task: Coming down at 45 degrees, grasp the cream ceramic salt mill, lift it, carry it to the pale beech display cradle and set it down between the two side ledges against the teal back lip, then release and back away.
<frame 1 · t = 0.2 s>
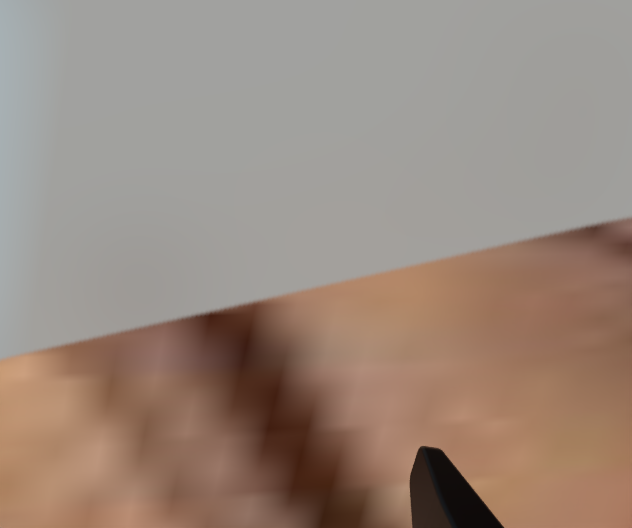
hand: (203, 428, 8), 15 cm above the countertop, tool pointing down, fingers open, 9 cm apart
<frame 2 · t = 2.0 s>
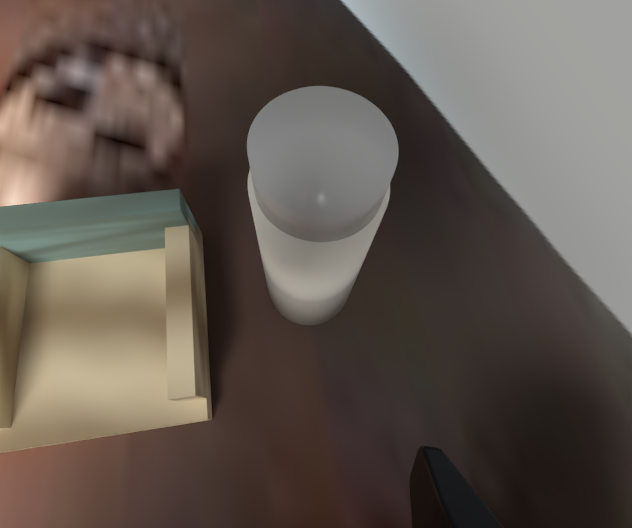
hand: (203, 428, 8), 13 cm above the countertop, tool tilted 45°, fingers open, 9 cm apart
stand: (111, 320, 22), on the countertop
mill: (308, 285, 24), on the countertop
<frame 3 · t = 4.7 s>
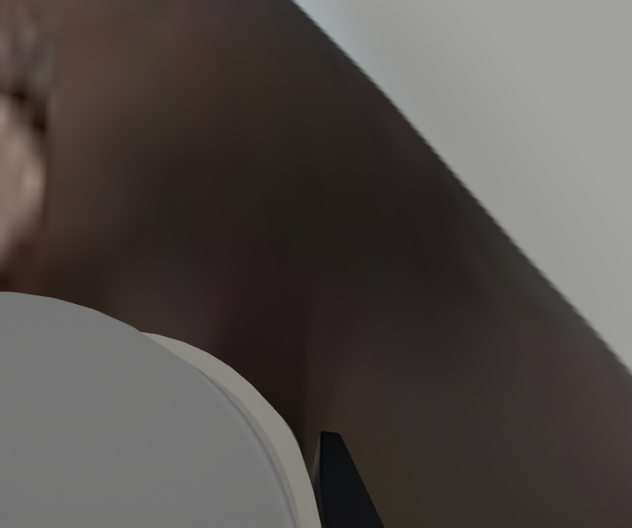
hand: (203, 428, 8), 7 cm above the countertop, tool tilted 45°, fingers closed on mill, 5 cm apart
mill: (233, 472, 14), on the countertop, touching gripper
when the fingers open (9 cm above the countertop, at t = 9.1 s): mill drops 1 cm, resting on stand.
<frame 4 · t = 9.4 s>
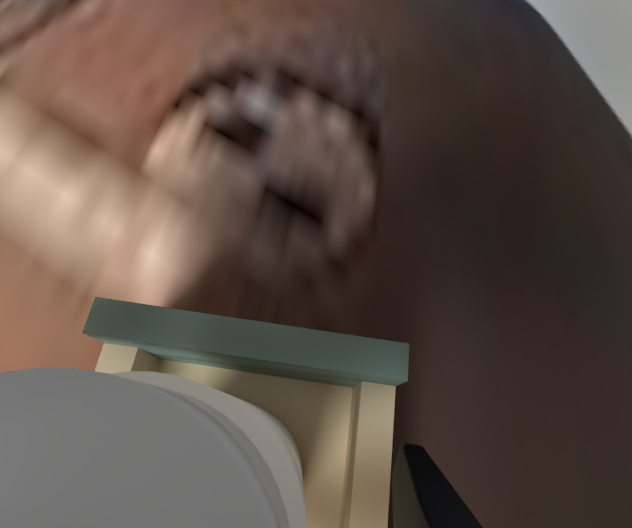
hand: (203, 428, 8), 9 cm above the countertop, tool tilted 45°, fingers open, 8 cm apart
stand: (241, 465, 16), on the countertop
mill: (237, 472, 15), point 1 cm above the countertop, touching stand
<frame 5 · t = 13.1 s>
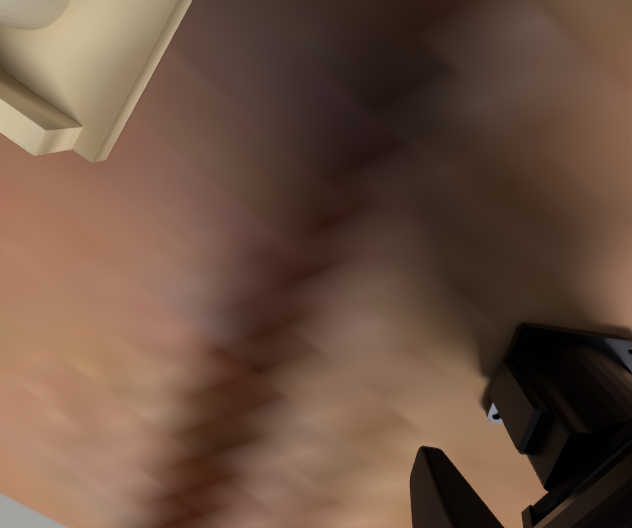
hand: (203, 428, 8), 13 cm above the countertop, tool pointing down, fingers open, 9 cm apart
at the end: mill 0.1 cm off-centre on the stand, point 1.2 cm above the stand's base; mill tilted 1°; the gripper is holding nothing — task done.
